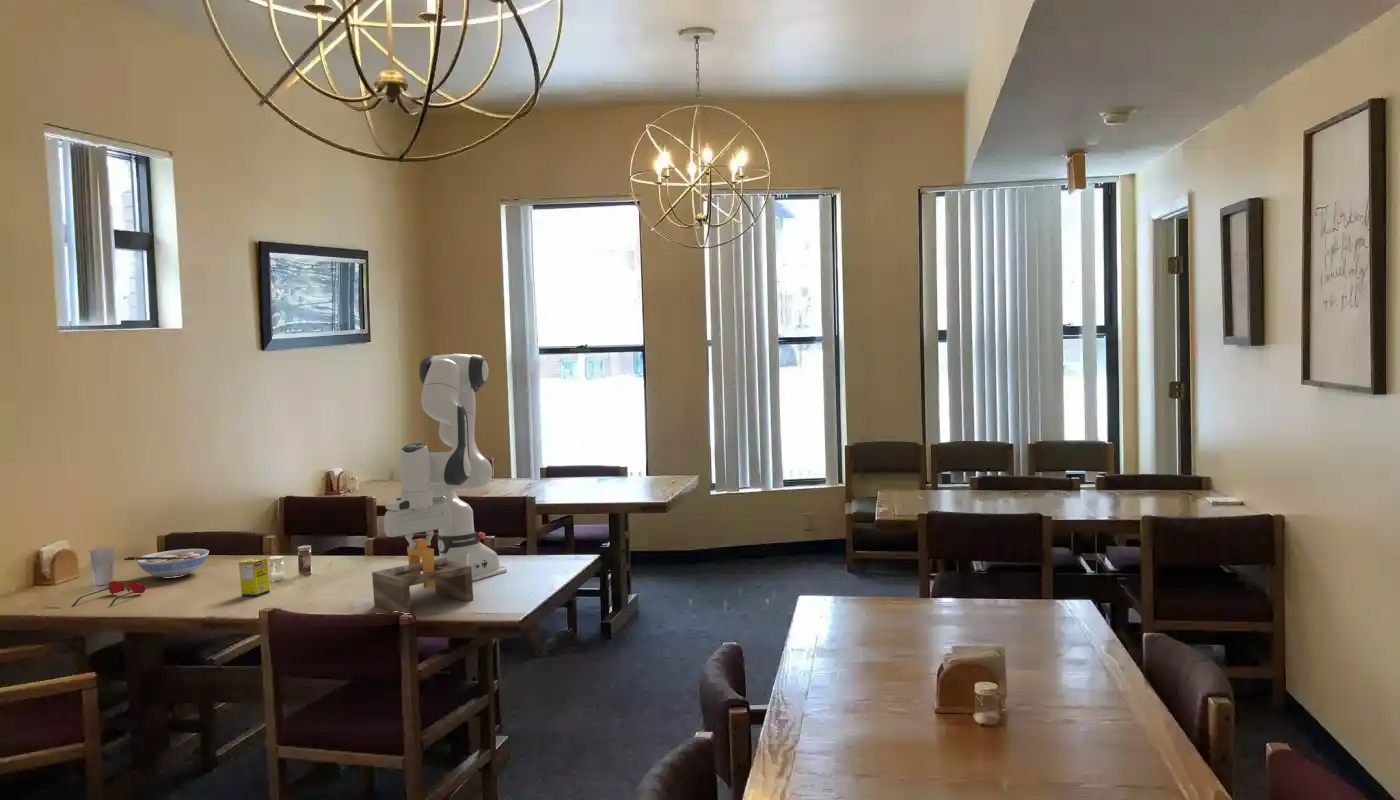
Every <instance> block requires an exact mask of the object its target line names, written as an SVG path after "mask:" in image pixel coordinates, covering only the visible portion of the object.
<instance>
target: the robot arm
mask: <svg viewBox="0 0 1400 800" xmlns="http://www.w3.org/2000/svg"><path fill="white" fill-rule="evenodd" d="M489 371H490V370H489V365H488V361H487V359H486V358H485V356H483V355H481V354H476V353H475V354H474V353H473V354H466V353H465V354H464V353H453V354H452V353H451V354H450V353H449V354H439V355H438V354H437V355H436V354H432V355H428V356H425V357H423V358H422V360H421V361H420V363H419V369H418V375H419V376H418V377H419V380H420V382H421V383H422V384H423V385H422V391H421V397H420V402H421V407H422V410H423V411H424V412H425V414H426V415H428V416H429V418H432V419H433V420H435V421H437V422H439V429H438V436H439V439H440V440H441V442H443V444H445V445H447V446H449V447H450V448H452V449H450V450H448V451H444V452H443V451H439V452H438V451H437V452H436V451H435V452H434V451H433V452H430V451H429V448H428V445H426V444H425V443H421V442H420V443H418V442H417V443H411V444H407V445H404V446H403V447H401V450H400V453H399V479H400V481H401V489H400V495H398V496H396V497H394V498H392V499H390V500H388V501H386V502H385V505H384V507H385V509H386V510H387V511H386V512H385V514H384V518H383V521H384V522H383V532H384V534H385V535H386V536H387V537H390V538H395V537H401V536H402V537H403V536H404V537H405V540H406V541H407V542H408V544H409V545H408V547H409V546H410V549H416V548H417V543H416V542H413V540H414V539H413V538H414V534H418V533H425V534H426V537H425V539H427V547H431V545H432V543H431V540H432V538H433V536H434V534H435V533H434V532H435V531H434V530H438V534H437V545H438V548H437V549H438V553H439V557H438V559H440V558H445V557H446V558H447V560H448V561H451V562H456V563H460V564H464V565H469V566H471V571H472V582H473V581H478V580H482V579H485V578H488V577H492V576H495V575H499V574H502V573H506V572H508V570H507V567H506V566H504V565H501V564H500V561H499V560H500V559H499V556H498V554H497V552H496V551H494V550H493V549H491V548H490V547H488V546H487V545H484V543H482V542H480V541H481V540H484V539H486V533H485V532H482V531H479V532H477V531H475V526H474V510H473V508H472V507H471V506H470V504H469V503H467V502H465V501H464V500H462V499H460V498H459V496H458V495H457V492H456V491H475V490H479V489H482V488H487V487H488V485H489V484H490V483H491V481H492V479H493V468H492V464H491V463H490V460H488V459H487V458H486V457H485V456H483V454H482V453H481V452H480V451H479V449H478V447H477V442H476V440H475V439H476V437H475V425H476V412H477V411H476V409H477V408H476V405H477V403H476V402H477V401H476V393H477V392H479V390H480V389H481V388H482V387H483V386H484V385H485V384H486V383H487V381H488V378H489ZM480 539H481V540H480Z"/></svg>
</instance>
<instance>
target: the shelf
mask: <svg viewBox="0 0 1400 800" xmlns="http://www.w3.org/2000/svg"><path fill="white" fill-rule="evenodd" d="M420 569H421V572H423V566H422V561H420V563H415V564H410V565H409V564H405V565H400V566H396V567H392V568H387V569H386V568H385V569H382V570H376V571H372V572H371V574H372V575H371V577H372V587H373V588H372V589H373V603H374V605H373V606H374V607H375V608H378V609H383V610H386V611H389V612H391V611H398V612H404V613H411V614H412V605H411V593H410V592H411V589H410V588H411V587H412V586H416V585H417V586H418V585H421V584H424V583H426V582H431V581H435V587H434V588H435V589H434V590H435V593H436V594H440V595H443V594H444V595H443V596H446V595H447V597H450V596H451V598H454V599H457V598H458V600H461V599H462V601H466V602H470V601H469V600H471V601H474V591H473V581H472V571H471V566H469V565H464V564H460V563H456V562H451V561H448V560H447V558H446V557H445V558H440V559H439V558H436V559H434V571H433V572H429V573H424V574H423V573H421V574H416V573H413V572H411V571H415V570H420Z"/></svg>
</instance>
